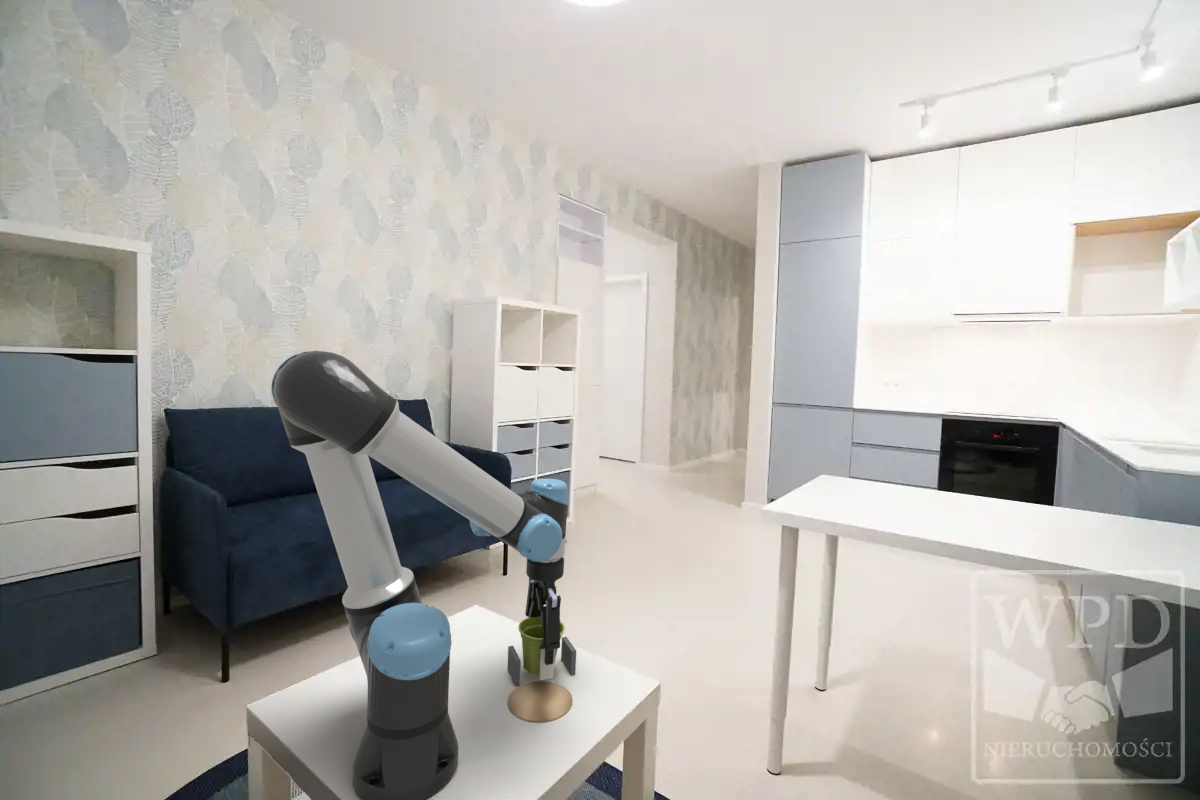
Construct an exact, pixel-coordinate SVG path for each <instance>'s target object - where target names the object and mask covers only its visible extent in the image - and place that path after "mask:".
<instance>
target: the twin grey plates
mask: <svg viewBox="0 0 1200 800" xmlns="http://www.w3.org/2000/svg"><path fill="white" fill-rule="evenodd" d="M560 648H561V651H560V652H561V654H560V655H561V656H560V661H561V662H562V663H563V664H562V665H563V666H564V667H565V669H566V670H567V671H568V673H569V674H570V676H573V675H576V666H577V649H576V648H575V647H574V645H573V644H572V642H571V641H570V639H568V637H567V636H563V637H562V636H561V647H560ZM507 650H508V651H507V668H506V669H507V672H508V674H509V676H510V679H511V681H512V684H513V685H514V687H518V686H520V685H521V669H522V668H521V666H522V665H521V664H522V660H521V658H520V656H519V654H518V653H517V650H516V649H515V647H514V645H508V646H507Z"/></svg>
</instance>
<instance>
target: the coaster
mask: <svg viewBox="0 0 1200 800" xmlns="http://www.w3.org/2000/svg"><path fill="white" fill-rule="evenodd" d="M507 706H508V707H507V708H508V709H509V711H510V713H511V714H513V716H515V717H516V718H518V719H520V720H523V721H526V722H529V723H548V722H553V721H555V720H558V719H560V718H562V717H564V716H565V715H566V714H567V713H568V712H569V711H570V710H571V708H572V706H573V695H572V694H571V692H570V690H569V689H568V688H566V687H565V686H563V685H562V684H560V683H557V682H553V681H549V680H534V681H530V682H525V683H523V684H520V686H516V687H515V688H514V689H513V690H512V691H511V692H510V694H509V695H508V697H507Z"/></svg>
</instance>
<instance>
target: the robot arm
mask: <svg viewBox="0 0 1200 800" xmlns="http://www.w3.org/2000/svg"><path fill="white" fill-rule="evenodd" d="M271 394H272V398H273V401H274V403H275V405H276V406H277V409H278V412H279V414H280V418H281V421H282V424H283V426H284V430H285V433H286V436H287V439H288V442H289V445H290V448H293V449H295V450H297V451H299V452H301V453H303V454H305V457H306V461H307V465H308V467H309V471H310V473H311V476H312V479H313V482H314V485H315V488H316V492H317V495H318V498H319V500H320V504H321V506H322V509H323V513H324V516H325V519H326V522H327V526H328V528H329V531H330V535H331V538H332V541H333V544H334V546H335V547H334V548H335V551H336V553H337V556H338V559H339V563H340V566H341V569H342V572H343V574H344V577H345V581H346V584H347V588H346V590H345V592H344V593H343V595H342V597H341V598H342V599H341V601H342V605H343V609H344V612H345V614H346V619H347V620H348V627H349V632H350V634H351V638H352V640H353V641H354V643H355V645H356V648H357V652H358V654H359V657H360V660H361V662H362V665H363V668H364V671H365V674H366V680H367V703H366V704H367V705H366V707H367V708H366V709H367V710H366V711H367V712H366V713H367V715H366V716H367V717H366V718H367V719H366V727H365V729H364V732H363V735H362V738H361V740H360V743H359V747H358V748H357V749H358V750H357V751H356V755H355V757H354V761H353V765H352V767H353V768H352V784H353V789H354V791H355V793H356V795H357V796H359V798H361V800H426V799H428V798H430V797H431V796H433V795H435V794H437V793H438V792H439V791H440V790H442V789H443V788H444V787H445V786H447V784H448V783H449V782H450V781H451V780H452V778H453V777H454V774H455V772H456V771H457V769H458V764H459V744H458V743H459V742H458V738H457V736H456V732H455V729H454V727H453V724H452V721H451V717H450V714H449V690H450V668H451V667H450V664H451V649H452V642H453V641H452V633H451V626H450V621H449V619H448V616H447V615H446V614H445V613H444V612H443V611H442V610H440V609H439V608H437V607H435V606H428V604H427V603H423V601H422V599H421V596H420V591H419V589H418V586H417V583H416V579H415V576H414V572H413V571H412V570H411V569H409V568H408V567H405V566H402V564H401V561H400V558H399V555H398V551H397V548H396V545H395V542H394V538H393V534H392V531H391V528H390V524H389V522H388V517H387V515H386V514H387V513H386V511H385V508H384V505H383V500H382V498H381V495H380V491H379V488H378V485H377V481H376V478H375V474H374V471H373V468H372V464H371V461H370V458H371V459H372V460H373V459H374V460H375V461H376V462H377V463H380V464H381V465H383V466H384V467H386V468H387V469H389V470H391V471H392V472H394V473H395V474H396V475H398V476H400V477H401V478H403V479H404V480H407V481H408V482H409V483H410V484H412V485H414V486H415V487H417V488H419V489H420V490H422V491H423V492H425V493H427V494H428V495H430V496H431V497H433V498H435V499H436V500H437V501H438V502H439V501H440V503H442V504H444V505H445V506H447V507H448V508H451V509H452V510H454V512H456V513H458V514H459V515H461V516H462V517H464V518H466V519H468V520H469V526H470V529H471V531H472V533H473V535H475V536H477V537H488V538H489V537H491V536H494V537H495V538H497V539H498V540H500V541H502V543H505V544H506V545H508V546H509V547H511V548H512V549H514V550H515V551H517V552H518V553H519V554H520V556H522V557H524V558H526V570H525V574H526V576H527V577H528V589H527V595H526V596H527V597H526V605H525V613H524V614H525V617H526V618H529V617H530V618H532V617H540V616H541V623H542V638H543V645H541V646H539V647H540V649H541V654H540V671H539V675H538V679H539V681H544V680H548V679H553V678H554V675H555V664H554V659H555V660H556V658H555V649H557V648H558V649H560V648H561V639H560V621H561V609H560V608H561V602H562V601H561V600H562V597H561V595H557V586H556V584H555V583H556V582H557V581H558V580H560V579H561V578H563V576H564V573H565V572H564V569H565V558H564V556H565V553H566V552H565V549H566V544H567V543H568V539H567V538H566V536H567V535H566V533H567V520H568V518H567V517H568V507H569V489H568V484H567V483H566V482H565V481H563V480H560V479H556V478H538V479H534V480H532V481H531V483H530V484H531V485H530V487H529V490H528V491H527V490H526V491H523V492H522V491H521V492H515V491H513V490H511V489H510V488H509V487H507V486H505V484H503V483H502V482H500V481H499V480H497V479H496V478H494V477H493V476H491V474H489V473H487V472H486V471H484V470H483V469H482V468H481V467H479V466H477V464H475V463H473V462H472V461H470V460H469V459H467V458H466V457H465V456H463V455H462V454H460V453H459V452H458V451H457V450H455V449H454V448H452V447H451V446H449V445H448V444H447V443H445V442H443V441H442V440H441V439H440V438H439V437H437V436H435V435H434V434H432V433H431V432H429V430H427V429H426V428H424V427H423V426H421V425H420V424H418V423H417V422H415V420H412V418H410V417H409V416H407V415H406V414H404V413H403V412H402V411H400V407H399V406H400V405H399V401H398V400H397V399H395V398H394V397H393V396H391V395H390V394H389V393H388V392H386V391H385V390H383V388H381V387H380V386H378V384H376V383H375V382H374V381H373V380H372V379H371V378H369V376H367V375H366V374H365V373H364V372H363V371H362V369H360V368H359V366H357V365H356V364H355V363H353V361H351V360H350V359H348V358H347V357H345V356H343V355H342V354H341V355H340V354H337V353H335V352H331V351H325V350H322V351H321V350H312V351H302V352H300V353H296V354H294V355H292V356H290V357H288V358H287V359H285V360H284V361H283V362H282V363H281V364H280V365H279V366H278V368H277V369H276V370H275V372H274V375H273V377H272V381H271ZM369 457H370V458H369ZM558 649H557V650H558Z"/></svg>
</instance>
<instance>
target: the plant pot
mask: <svg viewBox="0 0 1200 800" xmlns="http://www.w3.org/2000/svg"><path fill="white" fill-rule="evenodd" d="M565 630H566V628H565V624H564V623H563V622H562V621H561V620H560V640H562V635H563V634H564V632H565ZM518 632H519V634H520V637H521V644H522V645H521V646H522V659H523V661H522V662H523V669H524V670H525V671H526V672H527V673H528V674H530V675H532V676H539V671H540V654H541V649H540V647H539V646H541V645H543V638H542V623H541V616H540V617H532V618H530V617H529V618H528V617H526V618H525V619H523V620H521V621H520V622H519V624H518ZM558 649H559V648H557V649H555V659H554V665H555V663H556V658H557V654H558Z"/></svg>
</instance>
